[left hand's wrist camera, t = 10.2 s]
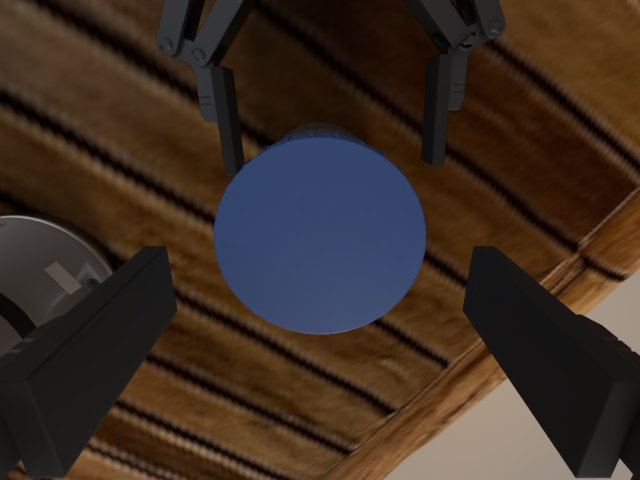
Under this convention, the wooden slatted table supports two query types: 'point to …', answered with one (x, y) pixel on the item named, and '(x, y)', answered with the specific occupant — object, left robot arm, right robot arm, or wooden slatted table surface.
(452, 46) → the right robot arm
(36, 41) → the wooden slatted table surface
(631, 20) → the wooden slatted table surface
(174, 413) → the wooden slatted table surface
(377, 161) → the lid
